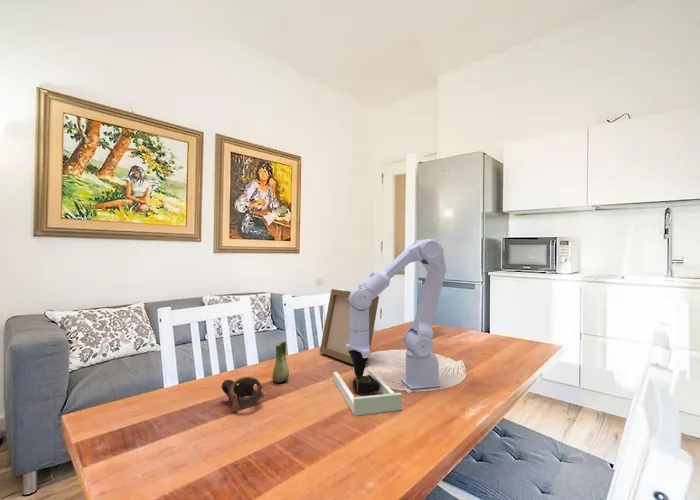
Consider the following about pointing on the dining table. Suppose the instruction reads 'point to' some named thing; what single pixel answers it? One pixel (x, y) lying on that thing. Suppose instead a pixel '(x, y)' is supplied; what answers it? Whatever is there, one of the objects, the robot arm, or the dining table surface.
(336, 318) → the photo frame
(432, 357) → the robot arm
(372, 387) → the tape measure
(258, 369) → the dining table surface
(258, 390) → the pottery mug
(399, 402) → the bay
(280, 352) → the fennel bulb
